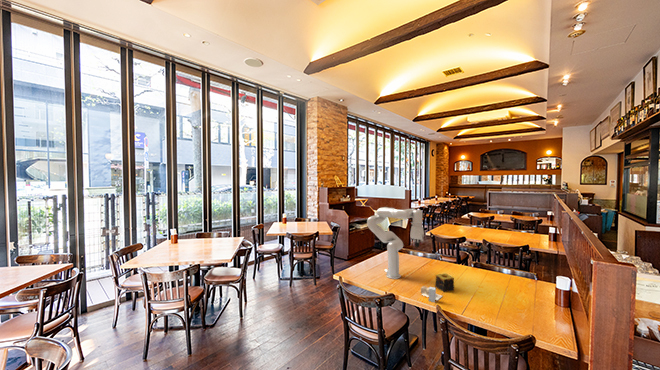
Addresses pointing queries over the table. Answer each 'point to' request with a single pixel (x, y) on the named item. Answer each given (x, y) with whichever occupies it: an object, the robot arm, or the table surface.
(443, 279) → the candle
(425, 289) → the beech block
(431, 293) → the bluegrey block
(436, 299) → the mat
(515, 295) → the table surface
